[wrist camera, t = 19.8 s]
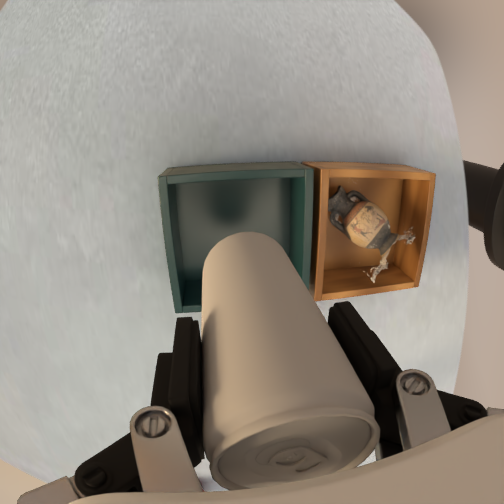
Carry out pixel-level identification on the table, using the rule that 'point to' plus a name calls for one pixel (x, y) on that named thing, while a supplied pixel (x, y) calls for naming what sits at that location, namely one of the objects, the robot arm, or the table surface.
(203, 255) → the can bin
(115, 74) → the table surface
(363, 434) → the beverage can
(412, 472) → the robot arm
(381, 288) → the bin
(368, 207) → the vase
